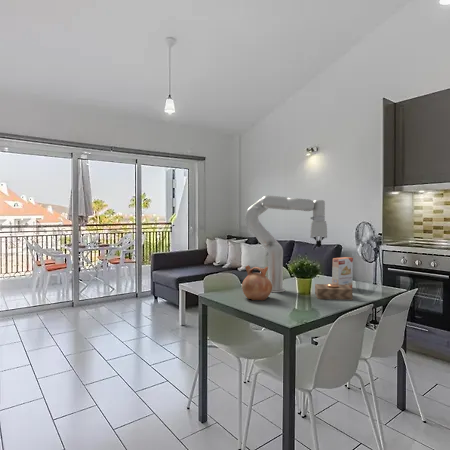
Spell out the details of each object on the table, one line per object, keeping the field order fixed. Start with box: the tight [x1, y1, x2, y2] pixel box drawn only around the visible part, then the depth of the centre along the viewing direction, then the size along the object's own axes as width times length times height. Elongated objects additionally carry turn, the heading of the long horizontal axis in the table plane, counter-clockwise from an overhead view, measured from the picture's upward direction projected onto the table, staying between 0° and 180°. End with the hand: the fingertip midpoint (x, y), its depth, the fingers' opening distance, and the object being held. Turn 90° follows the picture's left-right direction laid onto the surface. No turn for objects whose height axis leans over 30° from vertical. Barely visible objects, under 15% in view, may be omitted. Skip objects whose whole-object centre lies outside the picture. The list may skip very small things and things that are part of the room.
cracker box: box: [331, 256, 354, 289], centre depth 239 cm, size 14×6×21 cm, turn 120°
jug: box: [241, 264, 272, 301], centre depth 213 cm, size 18×18×20 cm
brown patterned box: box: [314, 283, 353, 301], centre depth 217 cm, size 20×14×6 cm
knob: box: [326, 283, 339, 288], centre depth 217 cm, size 7×7×7 cm
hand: (318, 246), depth 231 cm, fingers closed
